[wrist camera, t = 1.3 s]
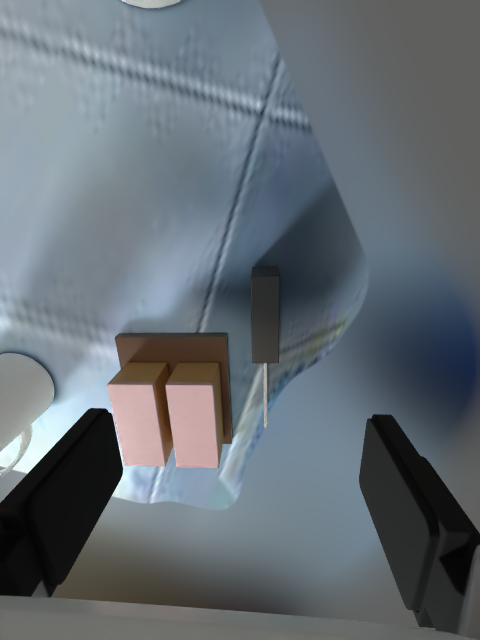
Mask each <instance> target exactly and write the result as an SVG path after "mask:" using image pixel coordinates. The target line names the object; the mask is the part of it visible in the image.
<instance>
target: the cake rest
mask: <svg viewBox="0 0 480 640" xmlns="http://www.w3.org/2000/svg"><path fill="white" fill-rule="evenodd" d="M168 380H169V373H168V365H167V363H162V362H128V363H126V365H125V366H124V367H123V368H122V369H121V370H120V371H119V372H118V373H117V374H116V375H115V376H114V378H113V379H112V380H111V381H110V382H109V383H108V384H107V387H108V392H109V397H110V401H111V406H112V410H113V415H114V419H115V424H116V429H117V433H118V438H119V442H120V447H121V452H122V456H123V461H124V465H130V466H164V467H165V466H166V463H167V461H168V458H169V456H170V453H171V450H172V448H173V445H174V444H173V436H172V429H171V422H170V415H169V408H168V400H167V393H166V386H165V385H166V383H167V382H168Z"/></svg>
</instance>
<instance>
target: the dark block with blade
mask: <svg viewBox="0 0 480 640" xmlns="http://www.w3.org/2000/svg"><path fill="white" fill-rule="evenodd" d="M279 315H280V275H279V272H278V269H277V267H276V266H265V267H252V271H251V323H252V363H263V366H264V428H267V363H279Z"/></svg>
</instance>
